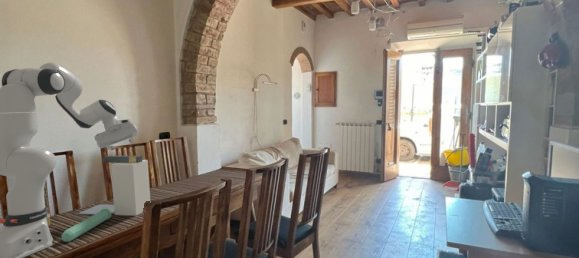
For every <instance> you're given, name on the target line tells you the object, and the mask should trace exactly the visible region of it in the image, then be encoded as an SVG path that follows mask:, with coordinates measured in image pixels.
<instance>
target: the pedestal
mask: <svg viewBox="0 0 579 258" xmlns="http://www.w3.org/2000/svg"><path fill="white" fill-rule="evenodd" d="M110 170H111V182H112V195H113V197H112V199H113V205H114V216H132V217H133V216H135V217H136V216H138V215H140V214H142V213H143V208H144V203H145V202H146V201H150V202H151V191H150V190H151V189H150V174H149V173H150V172H149V161H148V159H142V162H139V163H112V164H110Z"/></svg>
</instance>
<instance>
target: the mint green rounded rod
mask: <svg viewBox="0 0 579 258" xmlns="http://www.w3.org/2000/svg"><path fill="white" fill-rule="evenodd" d="M111 217H112V215H111V212H110V211H109V210H108V209H102V210H101V211H100V212H98V213H97V214H95V215H90V217H89V216H88V217H87V218H86V219H84V220H82V221H80V222H79V223H77V224H74V225H73V226H71V227H69V228H67V229H66V230H64V231H63V233H62V234H61V235H60V236H61V240H62V241H63V242H64V243H66V242H72V241H73V240H75V239H77V238H79V237H80V236H82V235H84V234H86V233H88V232H89V231H90V230H92V229H93V228H95V227H97V226H99V225H101V224H102V223H103V222H105V221H107V220H108V221H109V220H110V219H111Z"/></svg>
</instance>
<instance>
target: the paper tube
mask: <svg viewBox="0 0 579 258" xmlns="http://www.w3.org/2000/svg"><path fill="white" fill-rule="evenodd" d="M47 181H48V180H47V179H46V182H45V186H44V201H45V207H46V209H47V216H46V219H47V224H48V227H49V226H50V225H51V214H50V204H49V193H48V182H47Z"/></svg>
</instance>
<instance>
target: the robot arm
mask: <svg viewBox="0 0 579 258" xmlns="http://www.w3.org/2000/svg"><path fill="white" fill-rule="evenodd" d="M83 90H84V88H83V83H82V81H81V80H80V79H79V78H78V77H77V76H76V75H75V74H74V73H73V72H72V71H70V70H68V69H67V68H65V67H64V66H63V65H60V64H58V63H56V62H45V63H43V64H42V65H40V67H39V68H34V67H33V68H31V67H29V68H20V69H19V68H18V69H17V68H16V69H10V70H7V71H5V73H4V74H3V75H2V77H1V87H0V176H4V177H14V182H13V186H12V188H11V189H10V190H8V191H7V193H6V197H5V198H6V207H7V214H6V215H5V217H0V224H3V226H2V227H1V228H0V258H25V257H29V256H30V255H32V254H35V253H37V252H40V251H42V250H45V249H47V248H49V247H51V246H53V241H54V238H53V236H52V234H51V231H50V228H49V226H48V224H47V219H46V216H47V209H46V207H45V201H44V186H45V182H46V179H47V178H48V176H49V175H50V174H51V173H52V172H53V171H54V170H55V168H56V167H57V158H56V155H55V154H54V153H53V152H52V151H49V150H48V149H47V150H46V149H43V148H39V147H38V148H37V147H36V148H35V147H34V148H33V147H31V148H30V144H31V141H32V138H33V137H34V136H35V135H36V134H38V130H39V128H38V116H37V108H36V107H37V106H36V101H35V98H36V97H39V96H40V97H41V96H48V95H49V96H53V95H55V99H56V102H57V104H58V105H59V106H60V107H61V109H63V111H65V113H66V114H68V115H69V117H70V118H71V119H72V120H73V121H74V122H75V123H76V125H78V126H79V128H81V129H90V128H92V127H93V126H95V125H96V124H98V123H99V122H102V124H103V128H104V131H103V132H100V133H96V135H94V140H95V141H96V145H97V147H98V148H99V149H103V148H106V147H107V148H108V149H109V150H110V151H114V150H115V148H114V147H113V146H114V145H115V144H118V143H121V142H123V141H126V140H128V142H129V144H133V143H134V142H133V141H134V138H135V137H137V136H139V135H140V131H139V129H138V128H137V126H136V125H135V124H134V123H133V122H132V121H131V120H130V119H128V118H127V119H121V117H120V114H119V113H118V112H117V110H116V108H115V106H114V105H113V104H112V103H111V102H109V101H108V100H105V99H98V100H96V101H94V102H92V103H91V104H89V105H87V106H86V107H84V108H81V109H77V108H76V106H75V105H74V103H75V102H76V100H78V99H79V98H80V96H81V95H82V94H83Z"/></svg>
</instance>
